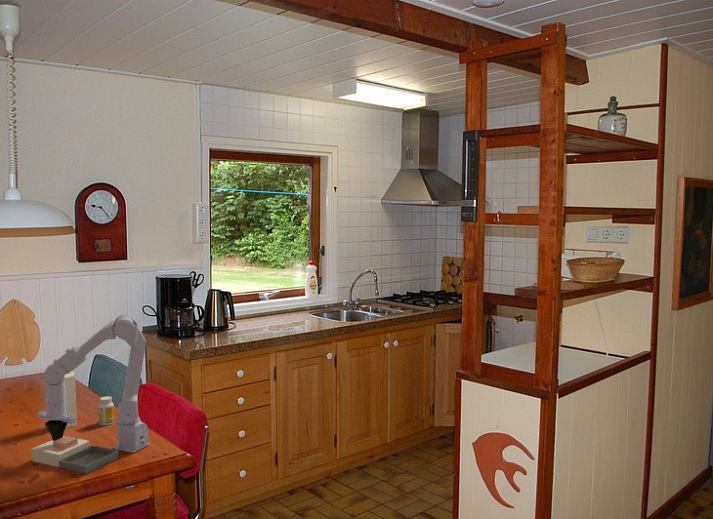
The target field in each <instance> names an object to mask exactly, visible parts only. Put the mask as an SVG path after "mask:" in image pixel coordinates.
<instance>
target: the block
mask: <svg viewBox="0 0 713 519" xmlns="http://www.w3.org/2000/svg"><path fill="white" fill-rule="evenodd" d="M64 436H65V437H63V438H60V439H58V440H56V441H53V448H58V449H62V450H66V449H69V448H71V447H73V446H75V445H77V444H78V439H79V438H76V437H72V436H67V435H64Z"/></svg>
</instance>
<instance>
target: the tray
mask: <svg viewBox="0 0 713 519" xmlns="http://www.w3.org/2000/svg"><path fill="white" fill-rule="evenodd" d="M119 452H120V450H116V449H112V448H108V447H103V446H99V445H93V444H92V445H91V444H90V446H89V447H87V448H85V449H83V450H81V451H78V452H76V453H74V454H72V455H70V456H68V457H65V458H63V459H61V460H59V467H58V469H60V470H64V471H70V472H74V473H76V474H77V473H78V474H81V473H82V474H83V475H89V474H90V473H93V472H94V471H96V470H98V469H100V468H102V467H104V466H106V465H109V464H110V463H112V462H114V461H115V460H118V459H119V458H120V453H119ZM82 474H81V475H82Z"/></svg>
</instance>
